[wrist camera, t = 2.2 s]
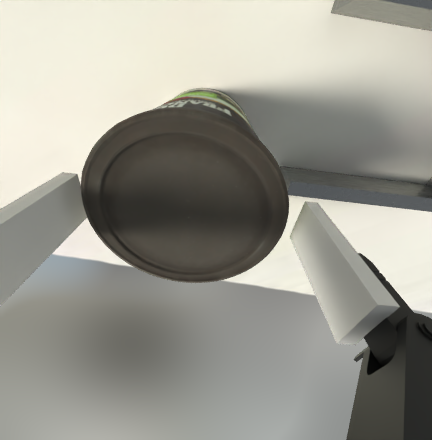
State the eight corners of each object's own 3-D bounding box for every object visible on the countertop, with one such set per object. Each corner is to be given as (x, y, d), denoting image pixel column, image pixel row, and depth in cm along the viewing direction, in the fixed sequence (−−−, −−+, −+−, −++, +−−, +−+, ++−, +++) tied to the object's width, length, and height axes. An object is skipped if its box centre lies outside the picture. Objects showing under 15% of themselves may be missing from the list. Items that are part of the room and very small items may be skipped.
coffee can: (138, 104, 19) (24, 146, 8) (243, 73, 18) (286, 71, 6) (175, 195, 25) (140, 293, 14) (256, 177, 24) (291, 272, 12)
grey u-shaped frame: (340, -16, 15) (386, -51, 11) (573, 28, 16) (693, 12, 12) (276, 178, 24) (288, 199, 20) (428, 196, 25) (468, 220, 21)
